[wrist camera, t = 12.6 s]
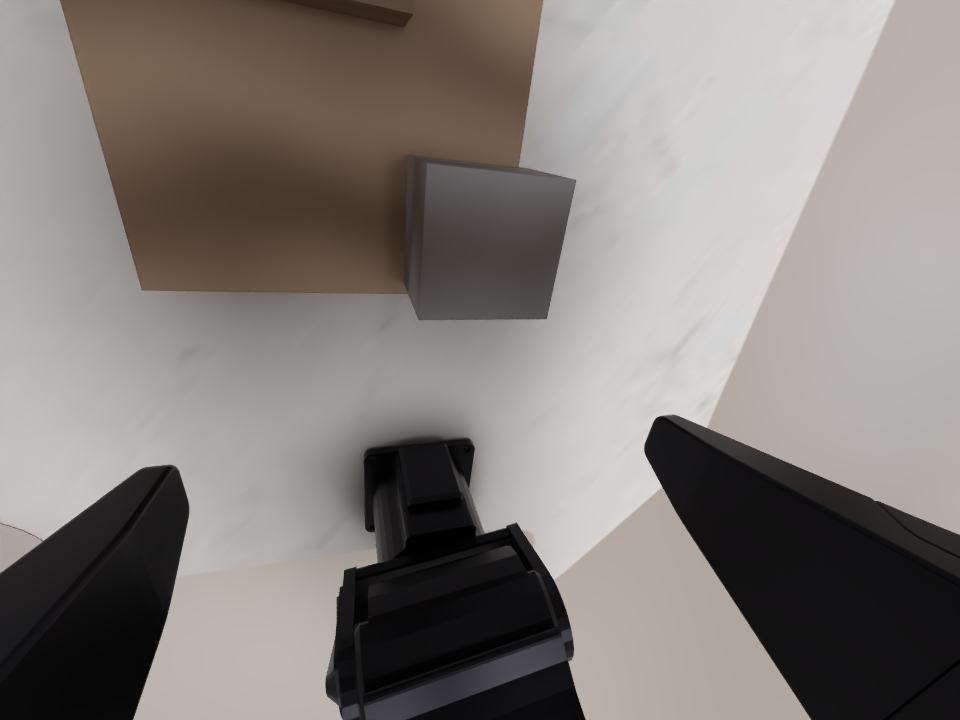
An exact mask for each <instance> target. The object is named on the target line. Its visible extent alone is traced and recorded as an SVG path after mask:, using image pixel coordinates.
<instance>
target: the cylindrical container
mask: <svg viewBox="0 0 960 720" xmlns="http://www.w3.org/2000/svg"><path fill="white" fill-rule="evenodd" d="M41 542H43V541H41V540H40V539H38V538H37V537H35V536H33V535H30V534H28V533H26V532H24V531H22V530H19V529H16V528H13V527H9V526H6V525H3V524H0V573H1V572H2V571H4V570H5V569H6V568H8V567H9V566H10V565H12V564H13V563H14V562H16V561H17V560H18V559H20V558H21V557H22V556H24V555H25V554H26V553H28V552H29V551H31V550H32V549H33V548H35V547H36V546H37V545H39V544H40V543H41Z"/></svg>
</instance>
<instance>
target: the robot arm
mask: <svg viewBox="0 0 960 720" xmlns="http://www.w3.org/2000/svg"><path fill="white" fill-rule="evenodd" d="M465 447H468V448H467V449H464V448H465ZM474 450H475V448H474V445H473V443H472V441H471V440H456V441H446V442H436V443H426V444H416V445H406V446H397V447H387V448H377V449H370V450H368V451H366V453H365V454H364V491H365V528H366V530H367V531H368V532H375V536H376V547H377V558H378V563H377V564H372V565H369V566H365V567H362V568H358V569H357V568H356V567H354V568H350V569H347V570H344V580H343V586H342V587H340V592H339V596H338V597H337V626H336V636H335V641H334V646H333V650H332V654H331V659H330V663H329V667H328V671H327V676H326V694H327V697H329V698H330V699H331V700H332V701H334V702H335V703H336V704H337V705H339V709H340V714H341V717H342V719H343V720H585V717H584V714H583V711H582V708H581V705H580V702H579V699H578V696H577V693H576V689H575V685H574V682H573V678H572V674H571V671H570V667H569V663H568V661H570V660H572V658H573V654H574V645H573V637H572V631H571V627H570V623H569V619H568V615H567V612H566V609H565V606H564V603H563V600H562V598H561V595H560V593H559V590H558V588H557V586H556V584H555V582H554V580H553V578H552V576H551V575H550V573H549V571H548V570H547V568H546V567H545V565H544V564H543V562H542V561H541V559H540V558H539V556H538V555H537V553H536V552H535V550H534V549H533V547H532V546H531V544H530V543H529V541H528V539H527V538H526V536H525V535H524V534H523V532H522V530H521V529H520V527H519V526H518V524H517V523H515V524H511V525H507V526H506V528H503V529H500V530H496V531H493V532H489V533H484V530H483V528H482V525H481V522H480V519H479V516H478V514H477V511H476V508H475V505H474V502H473V500H472V497H471V494H470V491H469V485H470V478H471V471H472V464H473V457H474ZM644 451H645V455H646V457H647V459H648V461H649V463H650V465H651V466H652V468H653V470H654V472H655V474H656V476H657V478H658V480H659V481H660V483H661V485H662V487H663V489H664V491H665V492H666V494H667V496H668V498H669V499H670V502H671V504H672V506H673V507H674V509H675V511H676V513H677V514H678V516H679V518H680V519H681V521H682V523H683V524H684V526H685V527H686V529H687V531H688V532H689V534H690V535H691V537H692V538H693V540H694V541H695V543H696V544H697V546H698V547H699V549H700V550H701V552H702V553H703V555H704V556H705V558H706V560H707V561H708V563H709V564H710V566H711V567H712V569H713V570H714V572H715V573H716V575H717V576H718V578H719V579H720V581H721V582H722V584H723V585H724V587H725V589H726V590H727V591H728V593H729V595H730V596H731V598H732V599H733V601H734V602H735V604H736V605H737V607H738V608H739V610H740V611H741V613H742V614H743V616H744V618H745V619H746V621H747V622H748V624H749V625H750V627H751V628H752V630H753V631H754V633H755V634H756V636H757V637H758V639H759V641H760V642H761V644H762V645H763V646H764V648H765V650H766V651H767V653H768V654H769V655H770V657H771V659H772V660H773V662H774V663H775V665H776V666H777V668H778V669H779V671H780V673H781V674H782V676H783V677H784V679H785V680H786V682H787V683H788V685H789V686H790V688H791V689H792V691H793V692H794V694H795V695H796V697H797V698H798V700H799V702H800V703H801V704H802V706H803V708H804V709H805V711H806V712H807V714H808V715H809V717H810V718H811V720H960V535H959V534H956V533H954V532H951V531H948V530H946V529H944V528H941V527H938V526H936V525H934V524H931V523H929V522H927V521H924V520H922V519H919V518H917V517H914V516H912V515H909V514H907V513H905V512H902V511H900V510H898V509H896V508H893V507H891V506H888V505H886V504H884V503H881V502H879V501H874V500H873V499H872V498H870V497H867V496H865V495H862V494H860V493H858V492H855V491H853V490H850V489H848V488H846V487H843V486H841V485H839V484H837V483H834V482H832V481H830V480H827V479H825V478H823V477H820V476H818V475H815V474H813V473H811V472H808V471H806V470H804V469H801V468H799V467H797V466H794V465H792V464H790V463H787V462H785V461H783V460H780V459H778V458H775V457H773V456H771V455H769V454H766V453H764V452H762V451H759V450H757V449H754V448H752V447H750V446H747V445H745V444H743V443H740V442H738V441H735V440H733V439H731V438H729V437H726V436H724V435H722V434H719V433H717V432H715V431H712V430H710V429H708V428H705V427H703V426H701V425H698V424H696V423H694V422H691V421H689V420H686V419H684V418H682V417H679V416H677V415H665V416H659V417H657V418H656V419H655V420H654V422H653V425H652V427H651V430H650V432H649V435H648V437H647V440H646V442H645V446H644ZM371 457H376V458H375V459H370V458H371ZM188 518H189V502H188V498H187V495H186V492H185V488H184V485H183V482H182V479H181V475H180V472H179V470H178V469H177V467H176V466H173V465H162V466H152V467H145V468H142V469H140V470H138V471H137V472H135V473H134V474H133V475H131V476H130V477H129V478H127V479H126V480H125V481H123V482H122V483H121V484H119V485H118V486H117V487H115V488H114V489H113V490H111V491H110V492H109V493H107V494H106V495H104V496H103V497H102V498H100V499H99V500H98V501H96V502H95V503H94V504H92V505H91V506H90V507H88V508H87V509H86V510H84V511H83V512H82V513H80V514H79V515H78V516H76V517H75V518H74V519H72V520H71V521H70V522H68V523H67V524H65V525H64V526H63V527H61V528H60V529H59V530H57V531H56V532H55V533H53V534H52V535H51V536H49V537H48V538H47V539H45V540H44V541H43V542H41V543H40V544H39V545H37V546H36V547H35V548H33V549H32V550H31V551H29V552H28V553H26V554H25V555H24V556H22V557H21V558H20V559H18V560H17V561H16V562H14V563H13V564H12V565H10V566H9V567H8V568H6V569H5V570H4V571H2V572H1V573H0V720H133V719H134V716H135V713H136V710H137V707H138V703H139V701H140V697H141V694H142V692H143V689H144V686H145V683H146V679H147V677H148V674H149V671H150V668H151V665H152V662H153V659H154V656H155V653H156V650H157V647H158V644H159V641H160V638H161V635H162V632H163V629H164V625H165V622H166V619H167V615H168V610H169V606H170V603H171V598H172V593H173V589H174V584H175V579H176V575H177V570H178V565H179V561H180V556H181V551H182V547H183V542H184V537H185V532H186V528H187V523H188Z"/></svg>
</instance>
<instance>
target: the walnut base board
mask: <svg viewBox="0 0 960 720" xmlns="http://www.w3.org/2000/svg"><path fill="white" fill-rule="evenodd" d="M60 2H61V5H62V9H63V12H64V16H65V19H66V23H67V26H68V30H69V34H70V37H71V41H72V44H73V48H74V51H75V55H76V58H77V62H78V65H79V69H80V72H81V76H82V80H83V83H84V87H85V90H86V94H87V97H88V101H89V104H90V108H91V111H92V115H93V118H94V122H95V126H96V129H97V133H98V136H99V140H100V143H101V147H102V150H103V154H104V157H105V161H106V164H107V168H108V172H109V175H110V179H111V182H112V186H113V189H114V193H115V196H116V200H117V203H118V207H119V210H120V214H121V218H122V221H123V225H124V228H125V232H126V235H127V239H128V242H129V246H130V249H131V253H132V256H133V260H134V263H135V267H136V271H137V274H138V278H139V281H140V285H141V288H142V290H155V291H230V292H305V293H379V294H408V295H409V297H410V299H411V302H412V304H413V307H414V309H415V312H416V314H417V317H418V319H419V320H483V319H547V315H548V311H549V306H550V301H551V296H552V292H553V287H554V282H555V278H556V273H557V268H558V263H559V259H560V254H561V249H562V245H563V240H564V235H565V230H566V226H567V221H568V216H569V212H570V207H571V202H572V197H573V193H574V188H575V183H576V180H573V179H569V178H565V177H561V176H556V175H552V174H548V173H544V172H540V171H536V170H532V169H526V168H518V166H519V159H520V153H521V146H522V139H523V132H524V126H525V119H526V112H527V105H528V99H529V92H530V85H531V79H532V72H533V65H534V58H535V52H536V45H537V38H538V31H539V25H540V18H541V11H542V4H543V0H60Z"/></svg>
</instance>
